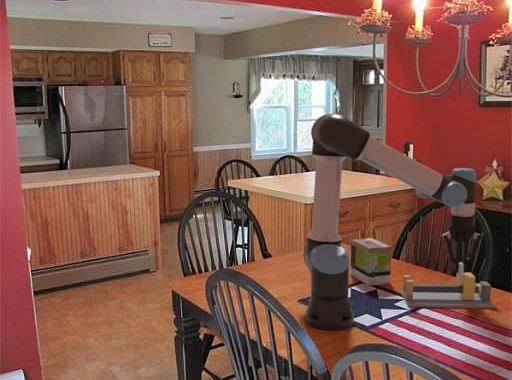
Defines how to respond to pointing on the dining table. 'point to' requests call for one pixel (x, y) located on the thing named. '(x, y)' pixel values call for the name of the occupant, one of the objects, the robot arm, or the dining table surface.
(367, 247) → the tea box
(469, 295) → the sleeve
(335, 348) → the dining table surface
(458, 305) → the grey slider rail
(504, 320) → the dining table surface
